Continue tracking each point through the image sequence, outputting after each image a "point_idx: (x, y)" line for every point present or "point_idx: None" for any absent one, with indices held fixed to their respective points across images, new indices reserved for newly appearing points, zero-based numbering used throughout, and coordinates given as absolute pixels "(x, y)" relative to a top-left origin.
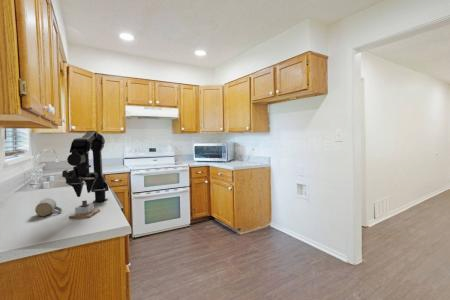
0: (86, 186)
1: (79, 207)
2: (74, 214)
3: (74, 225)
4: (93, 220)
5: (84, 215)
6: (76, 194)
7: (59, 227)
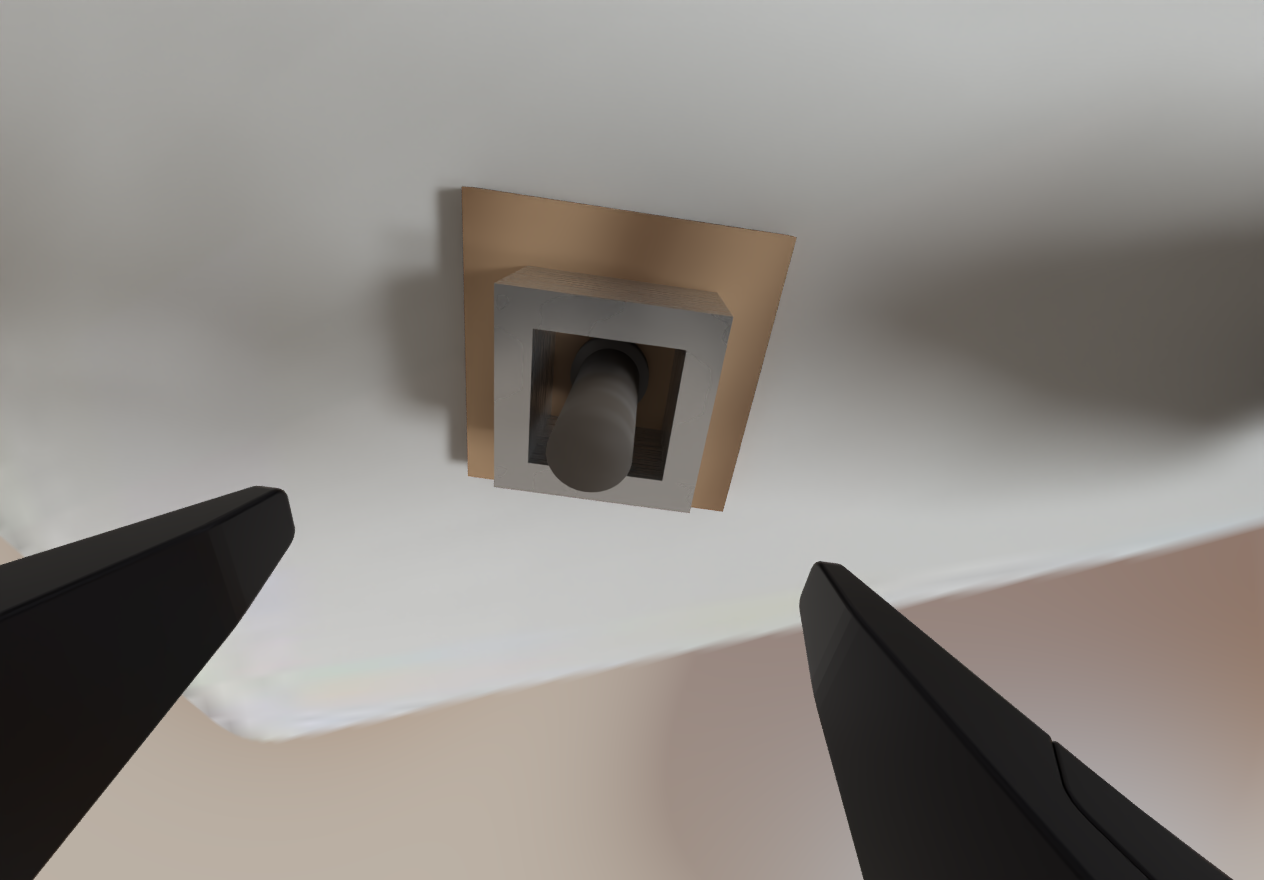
0: (948, 734)
1: (503, 361)
2: (546, 242)
3: (212, 391)
4: (376, 522)
5: (476, 410)
6: (159, 520)
7: (120, 237)
